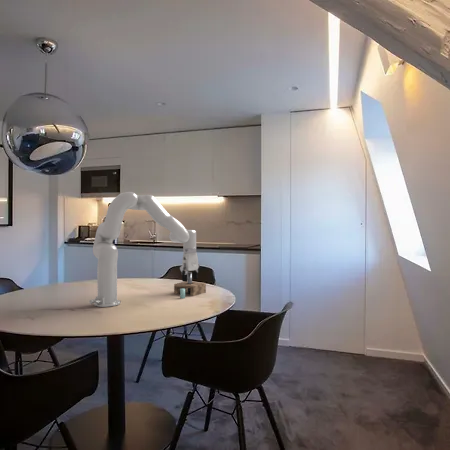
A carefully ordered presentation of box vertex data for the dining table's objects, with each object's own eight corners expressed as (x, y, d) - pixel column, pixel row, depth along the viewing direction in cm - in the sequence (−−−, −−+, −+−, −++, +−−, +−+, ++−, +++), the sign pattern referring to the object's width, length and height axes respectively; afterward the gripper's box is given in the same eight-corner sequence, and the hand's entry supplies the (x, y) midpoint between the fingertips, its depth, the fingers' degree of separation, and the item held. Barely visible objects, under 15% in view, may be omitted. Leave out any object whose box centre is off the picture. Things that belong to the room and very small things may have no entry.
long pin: (190, 293, 209) (190, 273, 209) (186, 293, 210) (186, 272, 210) (192, 292, 211) (192, 272, 211) (189, 292, 212) (189, 272, 212)
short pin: (183, 298, 195) (183, 289, 195) (179, 298, 197) (179, 289, 197) (186, 297, 197) (186, 288, 197) (182, 297, 199) (182, 288, 199)
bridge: (193, 296, 202) (193, 286, 202) (174, 293, 209) (174, 284, 209) (205, 292, 212) (205, 283, 212) (187, 290, 220) (187, 281, 219)
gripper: (185, 252, 201) (185, 283, 201) (203, 250, 216) (203, 278, 216) (175, 251, 205) (175, 281, 205) (193, 249, 220) (193, 277, 220)
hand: (190, 280), depth 211 cm, fingers open, 9 cm apart
